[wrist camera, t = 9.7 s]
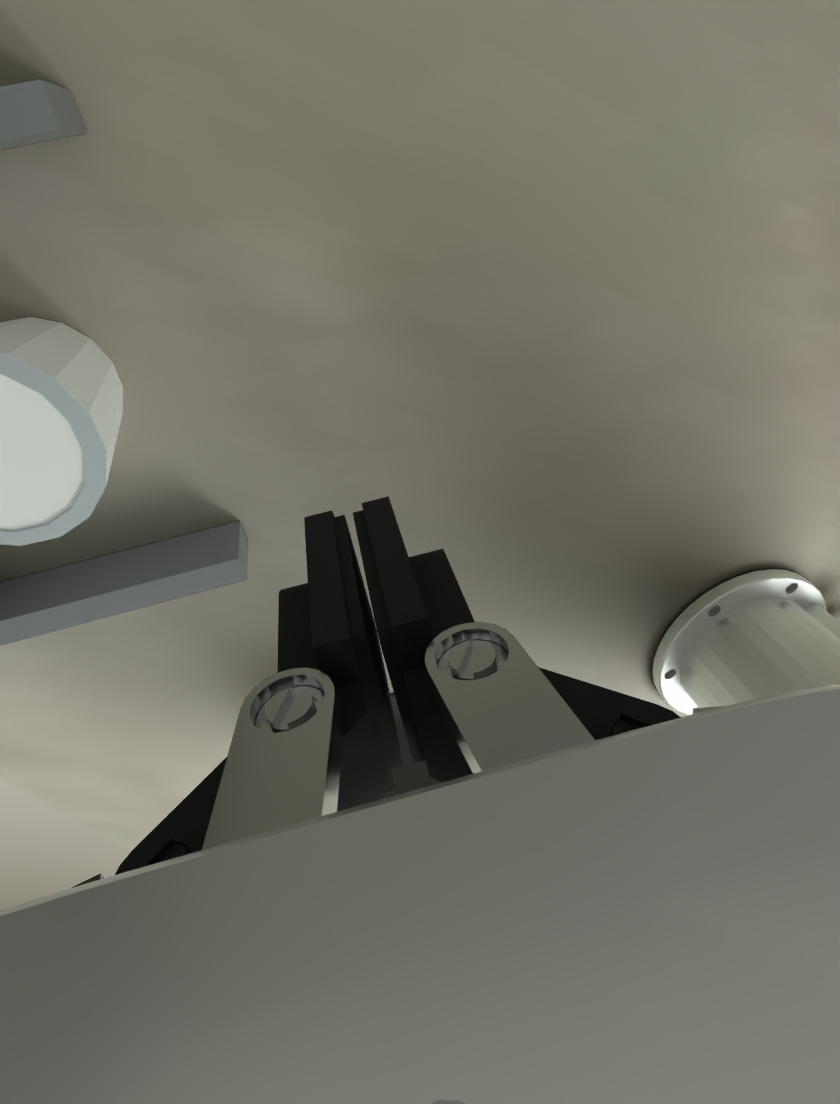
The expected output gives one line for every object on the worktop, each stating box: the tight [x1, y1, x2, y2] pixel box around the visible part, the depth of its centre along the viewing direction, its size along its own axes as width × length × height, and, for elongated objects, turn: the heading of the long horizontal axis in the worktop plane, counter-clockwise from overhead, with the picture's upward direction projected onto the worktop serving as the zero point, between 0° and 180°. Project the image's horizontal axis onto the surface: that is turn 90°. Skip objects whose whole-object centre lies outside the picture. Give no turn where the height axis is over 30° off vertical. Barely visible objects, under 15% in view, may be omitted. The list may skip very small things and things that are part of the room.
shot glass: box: [0, 317, 123, 546], centre depth 22 cm, size 7×7×7 cm
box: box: [0, 79, 248, 645], centre depth 24 cm, size 13×18×4 cm
